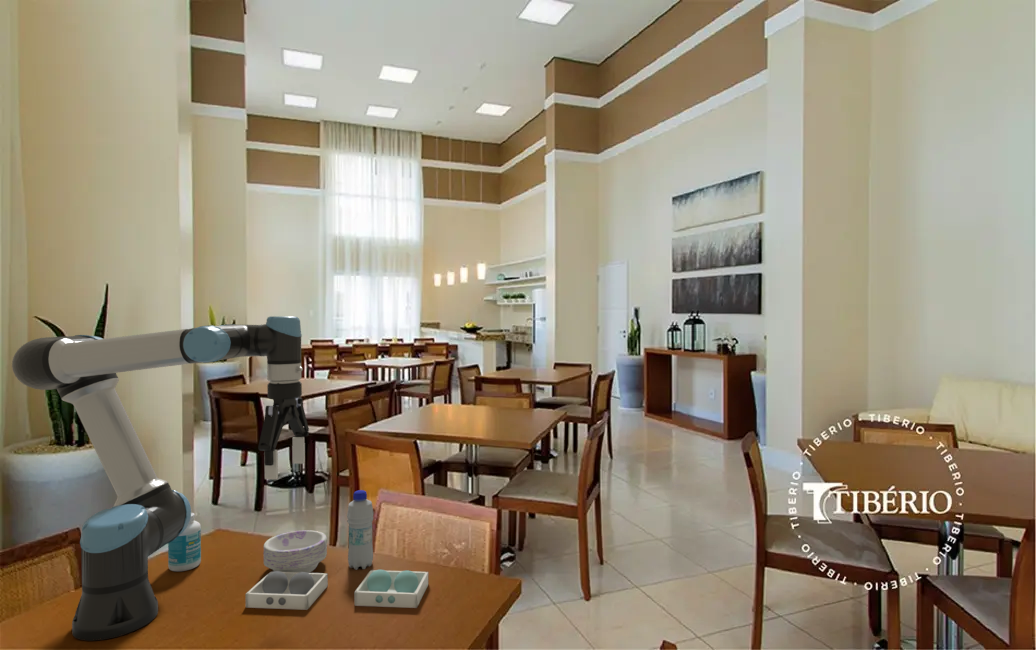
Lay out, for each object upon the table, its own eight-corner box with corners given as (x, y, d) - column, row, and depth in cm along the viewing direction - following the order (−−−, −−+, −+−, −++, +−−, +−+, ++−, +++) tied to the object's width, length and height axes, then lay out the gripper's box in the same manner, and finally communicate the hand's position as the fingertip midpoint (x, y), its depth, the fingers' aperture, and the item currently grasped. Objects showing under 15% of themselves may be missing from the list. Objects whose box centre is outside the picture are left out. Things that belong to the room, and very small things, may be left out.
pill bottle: (190, 572, 148) (189, 520, 147) (161, 572, 148) (161, 520, 148) (206, 560, 155) (206, 510, 155) (179, 560, 155) (178, 510, 155)
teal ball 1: (363, 599, 133) (363, 575, 133) (371, 587, 138) (371, 565, 138) (387, 600, 132) (387, 576, 132) (394, 588, 138) (394, 565, 138)
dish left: (245, 610, 129) (244, 594, 129) (270, 585, 141) (270, 571, 140) (306, 612, 128) (306, 596, 128) (327, 587, 139) (327, 573, 139)
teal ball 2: (391, 600, 132) (391, 576, 132) (398, 588, 138) (397, 565, 138) (415, 601, 132) (414, 577, 132) (420, 589, 137) (420, 566, 137)
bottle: (366, 573, 147) (366, 495, 147) (342, 571, 148) (341, 493, 148) (378, 562, 154) (377, 487, 153) (355, 560, 155) (354, 485, 155)
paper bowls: (305, 552, 160) (304, 524, 160) (339, 567, 151) (338, 536, 151) (251, 572, 148) (251, 541, 148) (285, 589, 139) (285, 556, 138)
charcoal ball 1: (258, 601, 132) (257, 577, 132) (270, 589, 138) (269, 566, 137) (281, 601, 132) (280, 578, 131) (292, 590, 137) (291, 567, 137)
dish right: (354, 608, 130) (354, 592, 130) (370, 584, 141) (370, 570, 141) (416, 610, 129) (416, 594, 129) (428, 586, 140) (428, 571, 140)
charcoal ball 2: (284, 602, 132) (284, 578, 131) (295, 590, 137) (295, 567, 137) (307, 602, 131) (307, 578, 131) (318, 591, 137) (317, 568, 137)
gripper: (273, 388, 124) (274, 486, 125) (321, 375, 149) (322, 457, 150) (240, 388, 125) (241, 486, 125) (293, 375, 150) (294, 457, 150)
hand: (285, 470), depth 137 cm, fingers open, 13 cm apart
